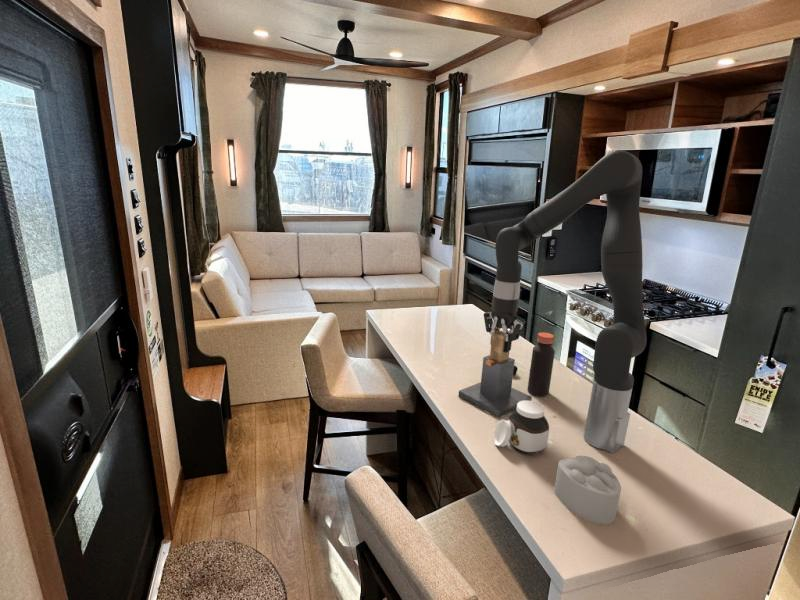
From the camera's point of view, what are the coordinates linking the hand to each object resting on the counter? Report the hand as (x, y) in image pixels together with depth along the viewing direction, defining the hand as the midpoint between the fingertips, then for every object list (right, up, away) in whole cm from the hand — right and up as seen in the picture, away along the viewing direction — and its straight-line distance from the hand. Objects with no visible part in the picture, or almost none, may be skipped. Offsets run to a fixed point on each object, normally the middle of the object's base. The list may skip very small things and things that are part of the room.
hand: (500, 349), depth 136 cm
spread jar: (0, -24, -19) cm, 30 cm away
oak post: (-1, -14, +4) cm, 15 cm away
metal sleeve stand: (-1, -16, +5) cm, 17 cm away
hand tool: (+7, -10, +31) cm, 34 cm away
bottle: (+15, -16, +11) cm, 24 cm away
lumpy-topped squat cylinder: (+10, -30, -39) cm, 50 cm away
